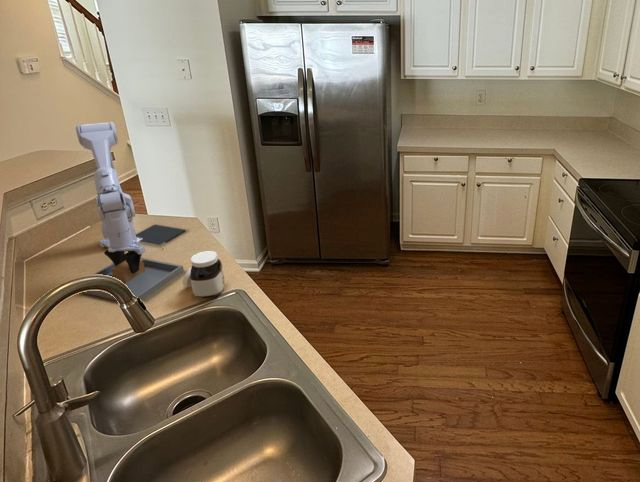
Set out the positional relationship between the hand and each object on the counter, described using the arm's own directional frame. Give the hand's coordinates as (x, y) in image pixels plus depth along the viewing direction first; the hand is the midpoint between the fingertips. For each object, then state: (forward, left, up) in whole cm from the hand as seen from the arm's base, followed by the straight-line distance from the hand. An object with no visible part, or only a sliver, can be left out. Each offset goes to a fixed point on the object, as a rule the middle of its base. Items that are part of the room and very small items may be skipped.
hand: (128, 270), depth 130 cm
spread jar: (+26, +1, -3) cm, 26 cm away
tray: (+3, -2, -2) cm, 4 cm away
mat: (-13, +24, -2) cm, 27 cm away
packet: (0, 0, -2) cm, 2 cm away
